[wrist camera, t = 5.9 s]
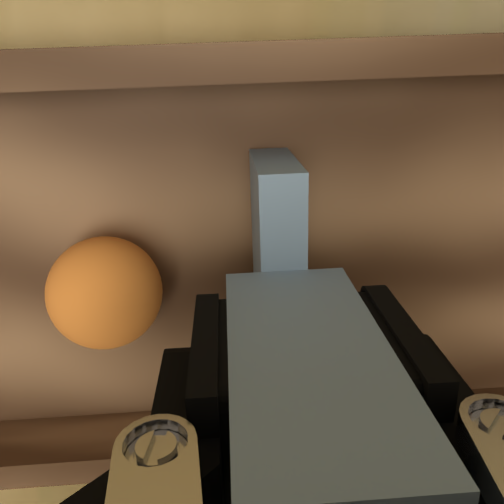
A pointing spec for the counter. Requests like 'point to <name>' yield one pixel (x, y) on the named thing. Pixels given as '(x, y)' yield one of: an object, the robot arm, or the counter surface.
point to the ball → (103, 292)
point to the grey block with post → (320, 376)
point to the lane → (238, 204)
